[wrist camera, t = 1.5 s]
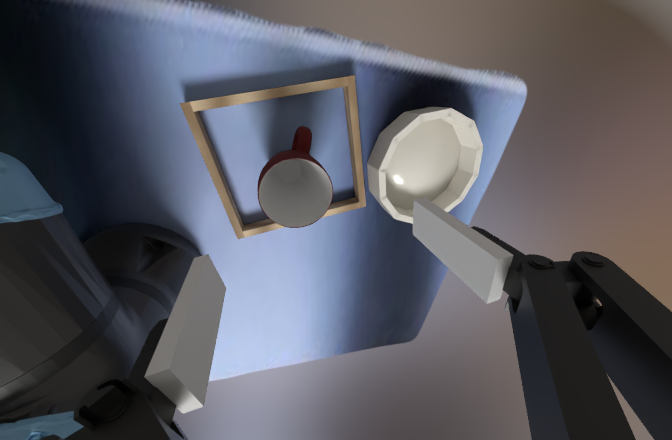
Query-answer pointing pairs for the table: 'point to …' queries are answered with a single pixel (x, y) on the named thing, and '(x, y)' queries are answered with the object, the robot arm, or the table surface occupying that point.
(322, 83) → the frame tray
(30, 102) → the table surface
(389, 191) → the bowl
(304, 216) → the mug
